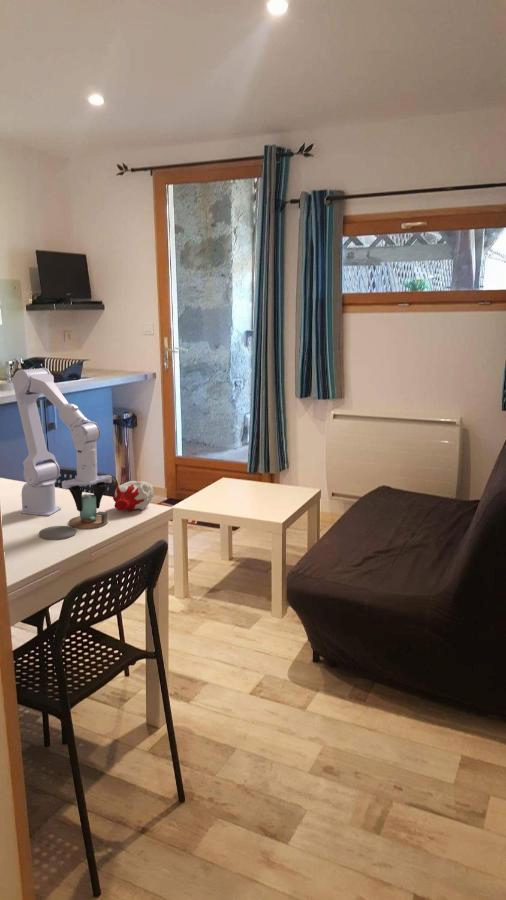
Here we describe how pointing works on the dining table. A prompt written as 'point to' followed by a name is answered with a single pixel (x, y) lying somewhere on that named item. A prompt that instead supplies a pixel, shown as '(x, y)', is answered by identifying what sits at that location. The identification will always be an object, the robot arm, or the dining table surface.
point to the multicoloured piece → (133, 495)
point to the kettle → (88, 507)
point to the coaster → (57, 532)
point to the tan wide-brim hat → (89, 521)
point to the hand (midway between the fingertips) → (88, 508)
